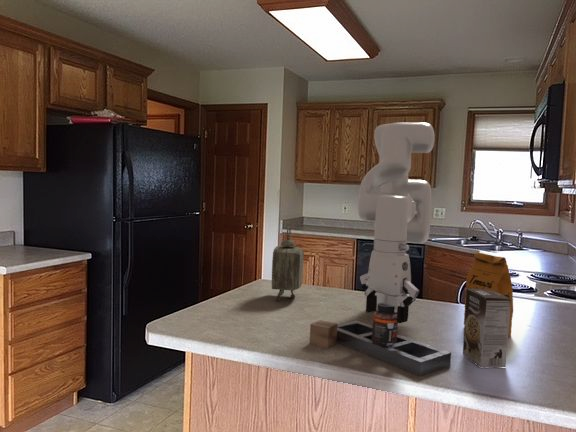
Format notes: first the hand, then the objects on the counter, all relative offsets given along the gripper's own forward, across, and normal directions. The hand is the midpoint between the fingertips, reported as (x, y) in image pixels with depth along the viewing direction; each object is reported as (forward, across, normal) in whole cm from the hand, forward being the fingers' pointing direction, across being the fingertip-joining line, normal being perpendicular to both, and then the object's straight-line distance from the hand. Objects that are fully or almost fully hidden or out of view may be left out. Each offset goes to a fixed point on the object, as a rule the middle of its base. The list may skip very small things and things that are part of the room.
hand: (386, 316), depth 114 cm
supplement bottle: (+8, 0, +1) cm, 8 cm away
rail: (+8, -1, +1) cm, 8 cm away
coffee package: (+9, -6, -37) cm, 39 cm away
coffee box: (+8, -18, -14) cm, 24 cm away
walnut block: (+8, +11, +10) cm, 17 cm away
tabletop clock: (+10, +53, -11) cm, 55 cm away
